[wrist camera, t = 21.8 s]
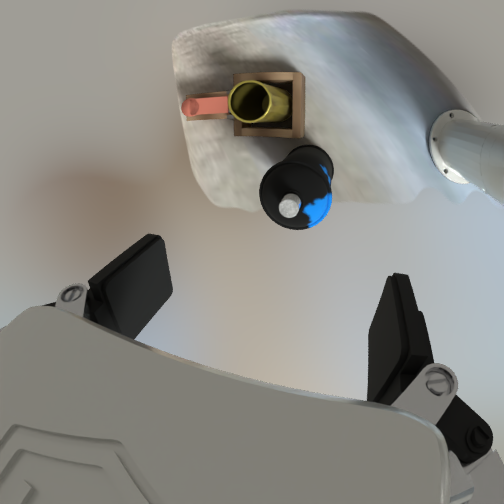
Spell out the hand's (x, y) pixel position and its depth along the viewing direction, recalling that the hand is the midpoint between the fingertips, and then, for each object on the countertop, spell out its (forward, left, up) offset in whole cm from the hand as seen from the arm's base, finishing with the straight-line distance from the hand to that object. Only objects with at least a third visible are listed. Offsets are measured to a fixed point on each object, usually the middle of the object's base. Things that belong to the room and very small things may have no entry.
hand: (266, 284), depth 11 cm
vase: (+8, -8, -36) cm, 38 cm away
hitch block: (+12, -8, -36) cm, 39 cm away
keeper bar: (+17, -8, -30) cm, 36 cm away
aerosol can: (+2, +3, -36) cm, 36 cm away
